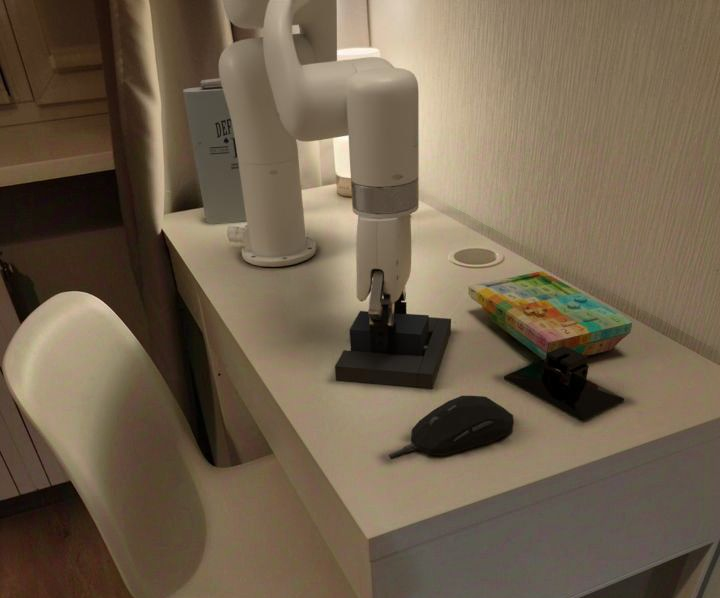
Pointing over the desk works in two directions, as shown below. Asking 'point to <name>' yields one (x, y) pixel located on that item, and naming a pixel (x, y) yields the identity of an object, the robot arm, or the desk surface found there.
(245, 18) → the robot arm
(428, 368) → the charcoal u-shaped block
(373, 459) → the desk surface
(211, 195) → the flask
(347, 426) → the desk surface
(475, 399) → the gaming mouse
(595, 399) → the build plate
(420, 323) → the slate block
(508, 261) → the desk surface
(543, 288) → the puzzle game
